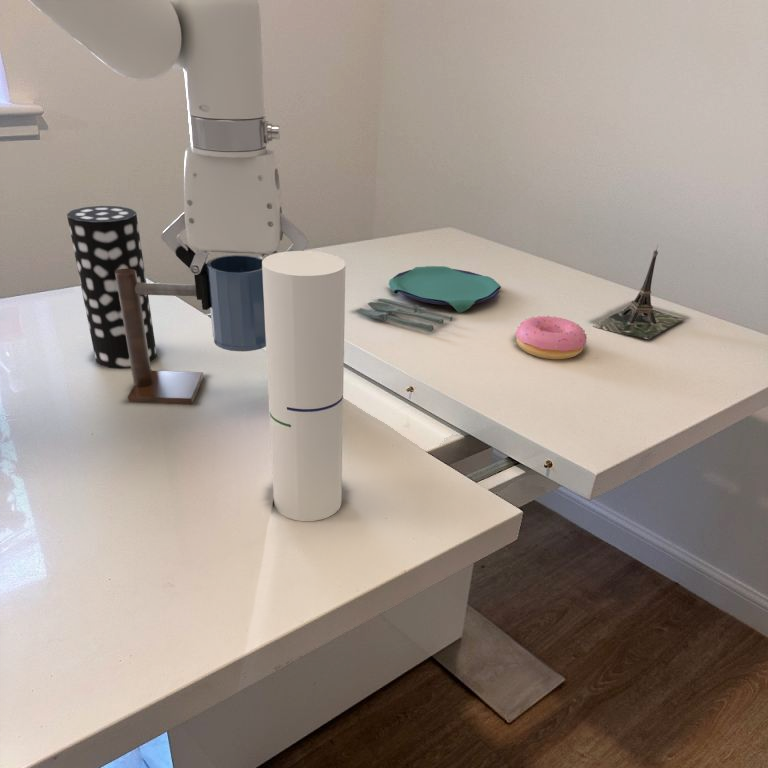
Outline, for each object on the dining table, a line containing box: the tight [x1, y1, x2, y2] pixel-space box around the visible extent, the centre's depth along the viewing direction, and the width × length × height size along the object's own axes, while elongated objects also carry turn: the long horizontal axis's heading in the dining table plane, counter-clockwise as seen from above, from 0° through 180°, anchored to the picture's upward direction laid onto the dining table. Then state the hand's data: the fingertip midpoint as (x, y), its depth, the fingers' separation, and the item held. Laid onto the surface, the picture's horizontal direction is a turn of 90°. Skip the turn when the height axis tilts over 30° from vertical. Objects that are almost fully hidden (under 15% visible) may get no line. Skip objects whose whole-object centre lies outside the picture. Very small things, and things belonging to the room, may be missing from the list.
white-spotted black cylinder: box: [66, 205, 158, 370], centre depth 97 cm, size 8×8×20 cm
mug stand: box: [115, 269, 204, 405], centre depth 90 cm, size 13×8×16 cm, turn 91°
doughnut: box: [515, 315, 588, 360], centre depth 112 cm, size 11×11×4 cm
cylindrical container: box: [262, 250, 346, 522], centre depth 69 cm, size 7×7×25 cm
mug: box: [206, 254, 266, 352], centre depth 85 cm, size 11×7×9 cm, turn 1°
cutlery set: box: [355, 265, 502, 332], centre depth 128 cm, size 20×30×2 cm, turn 148°
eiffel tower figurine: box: [592, 244, 686, 340], centre depth 121 cm, size 15×10×13 cm
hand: (240, 306), depth 83 cm, fingers closed on mug, 6 cm apart
